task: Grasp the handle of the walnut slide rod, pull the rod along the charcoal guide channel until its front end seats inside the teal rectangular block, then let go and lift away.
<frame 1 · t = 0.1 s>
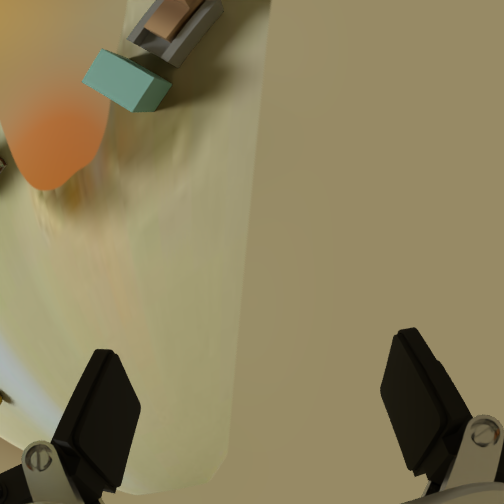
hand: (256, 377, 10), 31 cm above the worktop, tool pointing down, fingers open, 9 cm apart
slide rod: (172, 1, 23), point 8 cm above the worktop, slide at 0.0 cm
guide channel: (181, 28, 30), on the worktop
teal rectangular block: (140, 84, 33), on the worktop
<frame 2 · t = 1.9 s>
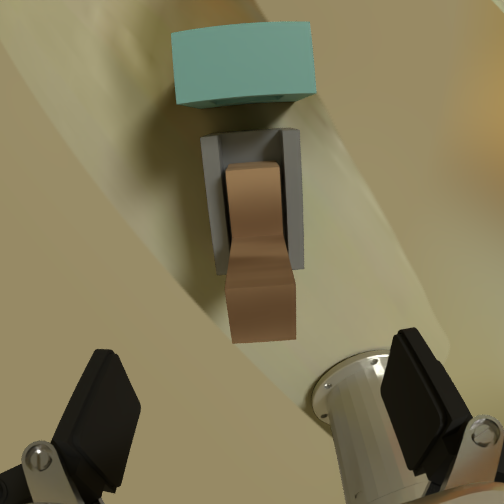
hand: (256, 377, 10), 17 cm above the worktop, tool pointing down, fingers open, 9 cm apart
slide rod: (257, 237, 17), point 8 cm above the worktop, slide at 0.0 cm
guide channel: (254, 188, 24), on the worktop
teal rectangular block: (245, 78, 21), on the worktop
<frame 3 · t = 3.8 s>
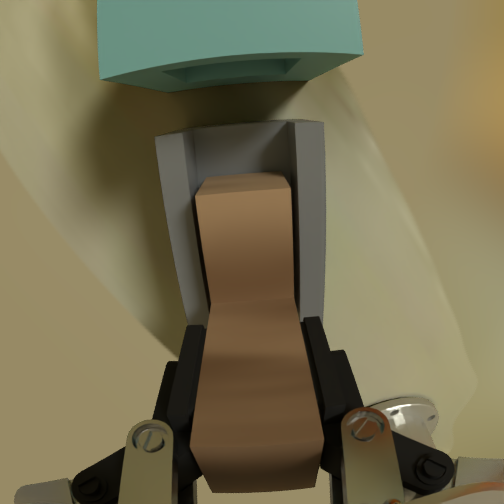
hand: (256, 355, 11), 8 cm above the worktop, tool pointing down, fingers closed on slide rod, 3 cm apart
slide rod: (251, 313, 10), point 8 cm above the worktop, slide at 0.0 cm, touching gripper
guide channel: (248, 208, 17), on the worktop
teal rectangular block: (234, 46, 13), on the worktop
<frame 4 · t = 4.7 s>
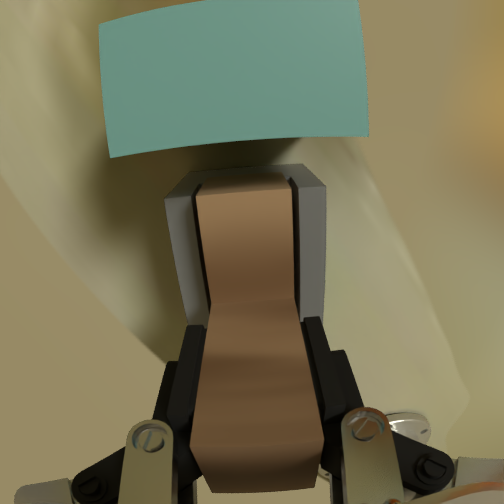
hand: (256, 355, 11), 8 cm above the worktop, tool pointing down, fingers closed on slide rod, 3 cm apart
slide rod: (252, 313, 10), point 8 cm above the worktop, slide at 2.3 cm, touching gripper
guide channel: (252, 248, 18), on the worktop
teal rectangular block: (239, 89, 14), on the worktop
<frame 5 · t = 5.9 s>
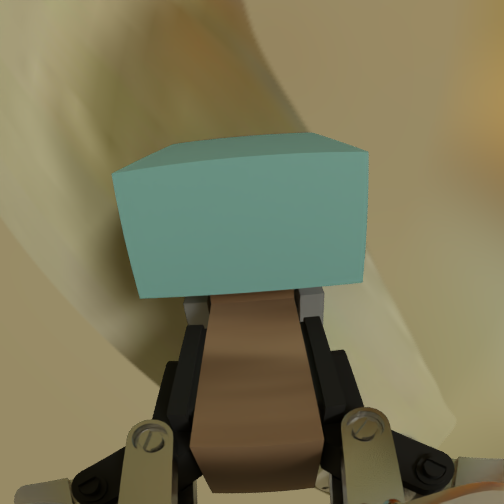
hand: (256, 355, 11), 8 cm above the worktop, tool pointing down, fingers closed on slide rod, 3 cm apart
slide rod: (252, 313, 10), point 8 cm above the worktop, slide at 6.7 cm, touching gripper
guide channel: (257, 314, 20), on the worktop
teal rectangular block: (245, 175, 16), on the worktop
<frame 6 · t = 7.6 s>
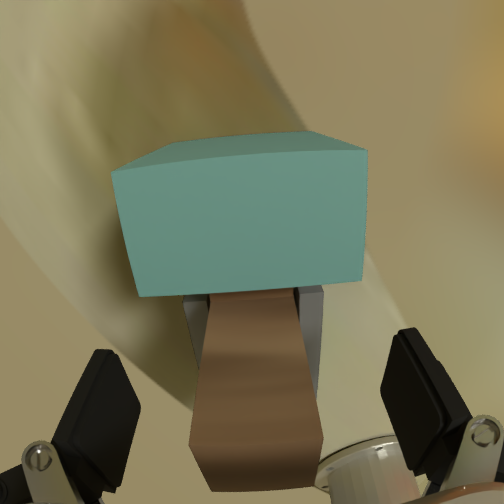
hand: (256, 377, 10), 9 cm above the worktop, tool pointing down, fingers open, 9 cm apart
slide rod: (251, 312, 10), point 8 cm above the worktop, slide at 6.7 cm
guide channel: (257, 313, 20), on the worktop
teal rectangular block: (245, 173, 16), on the worktop
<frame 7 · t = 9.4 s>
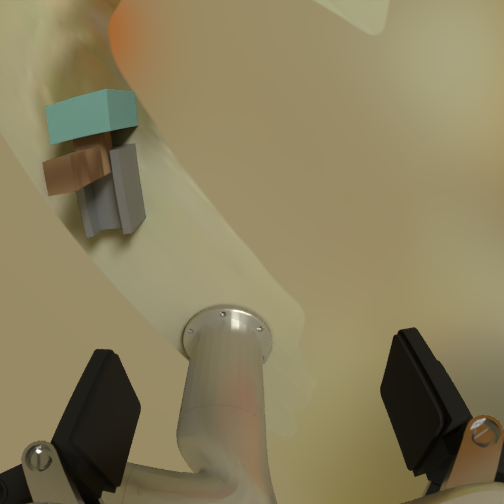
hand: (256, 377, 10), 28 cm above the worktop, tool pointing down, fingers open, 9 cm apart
slide rod: (79, 145, 26), point 8 cm above the worktop, slide at 6.7 cm
guide channel: (118, 184, 35), on the worktop
teal rectangular block: (108, 114, 32), on the worktop
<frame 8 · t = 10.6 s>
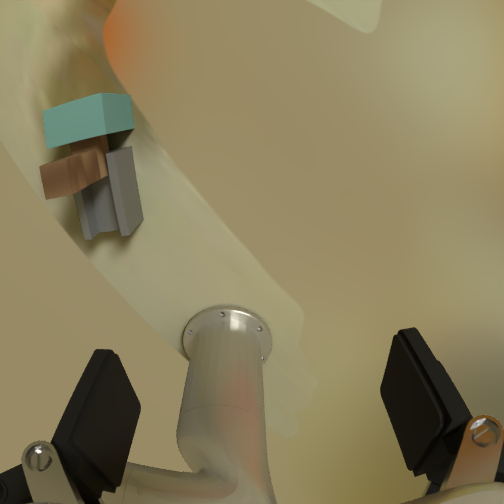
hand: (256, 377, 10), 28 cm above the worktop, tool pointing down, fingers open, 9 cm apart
slide rod: (76, 149, 26), point 8 cm above the worktop, slide at 6.7 cm
guide channel: (115, 186, 35), on the worktop
teal rectangular block: (105, 117, 32), on the worktop
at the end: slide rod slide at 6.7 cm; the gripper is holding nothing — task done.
